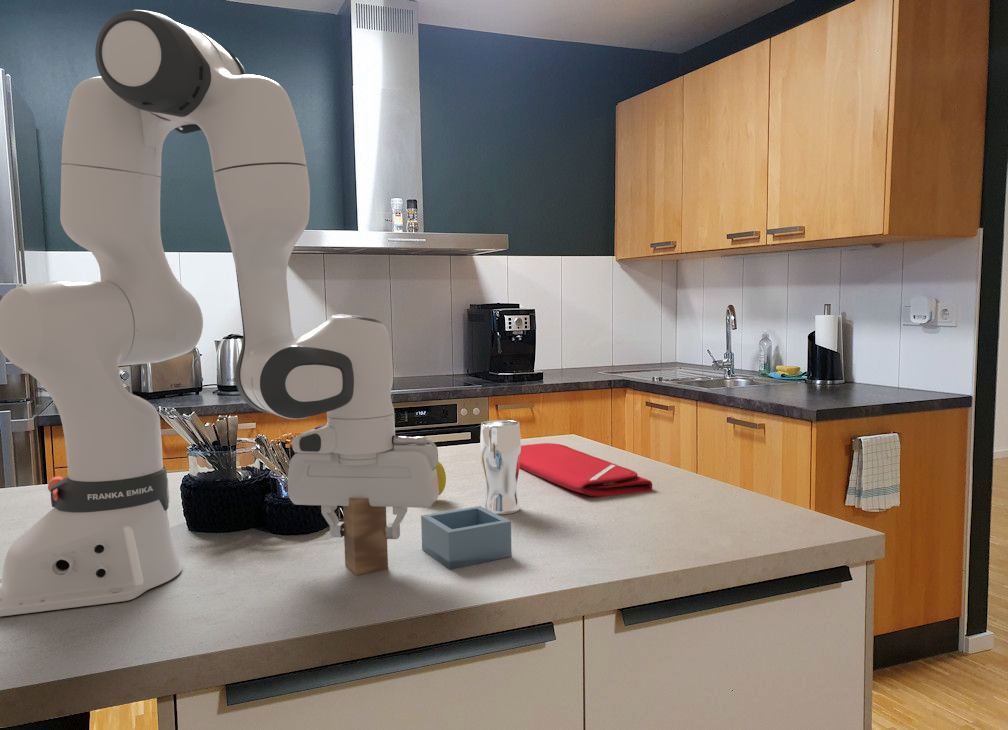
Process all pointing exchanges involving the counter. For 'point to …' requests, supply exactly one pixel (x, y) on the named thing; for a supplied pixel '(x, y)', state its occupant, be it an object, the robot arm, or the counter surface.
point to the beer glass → (501, 464)
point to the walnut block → (365, 537)
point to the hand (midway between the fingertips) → (365, 537)
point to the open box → (466, 536)
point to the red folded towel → (580, 471)
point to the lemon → (441, 477)
